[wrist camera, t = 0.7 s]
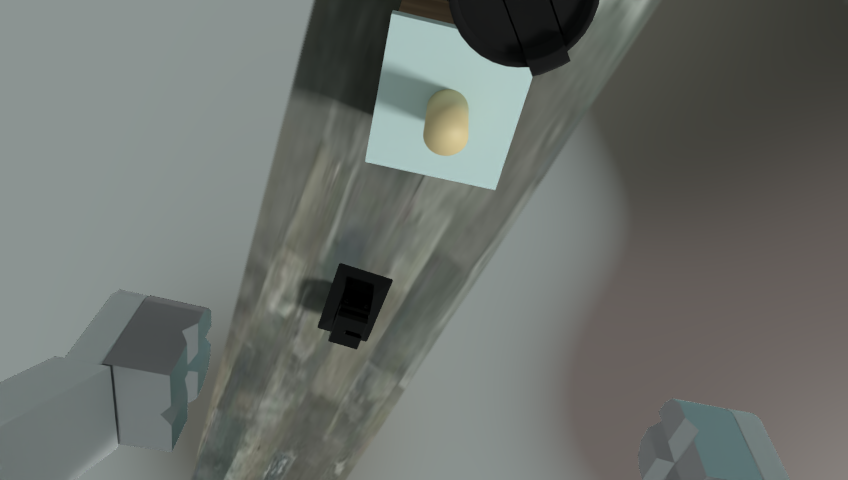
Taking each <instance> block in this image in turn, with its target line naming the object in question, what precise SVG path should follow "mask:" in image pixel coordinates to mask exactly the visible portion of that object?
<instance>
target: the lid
mask: <svg viewBox="0 0 848 480" xmlns="http://www.w3.org/2000/svg"><path fill="white" fill-rule="evenodd" d="M532 77H533V76H532V75H531V72H530V69H529V67H520V68H517V67H506V66H503V65H500V64H496V63H493V62H491V61H489V60H487V59H486V58H484V57H482V56H480V55H479V54H478V53H477V52H475V51H474V50H473V49H472V48H471V47H470V46H469V45H468V44H467V43H466V41H465V40H464V39H463V38H462V37H461V35H460V33H459V31H458V29H457V28H456V26H455V24H450V23H446V22H442V21H438V20H433V19H429V18H425V17H421V16H416V15H412V14H408V13H404V12H400V11H395V10H393V11H392V14H391V20H390V25H389V31H388V37H387V42H386V48H385V53H384V59H383V65H382V70H381V76H380V81H379V87H378V93H377V98H376V104H375V109H374V115H373V120H372V126H371V132H370V137H369V143H368V148H367V154H366V160H365V162H368V163H373V164H378V165H382V166H387V167H391V168H396V169H401V170H405V171H410V172H414V173H419V174H424V175H428V176H433V177H437V178H442V179H447V180H451V181H456V182H460V183H465V184H470V185H474V186H479V187H483V188H488V189H493V190H495V189H496V186H497V183H498V180H499V177H500V174H501V171H502V168H503V165H504V162H505V159H506V156H507V153H508V150H509V147H510V144H511V141H512V138H513V135H514V132H515V129H516V126H517V123H518V120H519V116H520V113H521V110H522V107H523V104H524V101H525V98H526V95H527V92H528V89H529V86H530V83H531V80H532Z"/></svg>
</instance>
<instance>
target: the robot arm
mask: <svg viewBox="0 0 848 480" xmlns="http://www.w3.org/2000/svg"><path fill="white" fill-rule="evenodd" d="M210 327H211V310H210V309H209V308H205V307H201V306H196V305H192V304H187V303H183V302H178V301H173V300H169V299H164V298H160V297H155V296H151V295H150V296H147V295H143V294H139V293H134V292H129V291H125V290H121V289H120V290H118V291H117V292H115V293H113V294H112V295H111V296H110V297H109V299H108V300H107V301H106V303H105V304H104V305H103V307H102V308H101V310H100V311H99V312H98V314H97V315H96V316H95V318H94V319H93V320H92V321H91V323H90V324H89V326H88V327H87V328H86V330H85V331H84V332H83V334H82V335H81V336H80V338H79V339H78V340H77V342H76V343H75V344H74V346H73V347H72V348H71V350H70V351H69V352H68V354H67V355H66V357H65V358H63V357H57V356H54V357H53V358H50V359H48V360H46V361H44V362H42V363H40V364H38V365H36V366H33V367H31V368H29V369H27V370H25V371H23V372H21V373H19V374H17V375H14V376H12V377H10V378H8V379H6V380H4V381H2V382H0V480H75V479H77V478H78V477H79V476H81V475H82V474H83V473H85V472H86V471H87V470H89V469H90V468H91V467H93V466H94V465H95V464H97V463H98V462H99V461H100V460H102V459H103V458H105V457H106V456H107V455H108V454H110V453H111V452H112V451H114V450H115V449H117V448H118V444H122V445H128V446H135V447H141V448H148V449H155V450H162V451H168V452H172V451H173V449H174V446H175V445H176V442H177V440H178V438H179V436H180V434H181V432H182V430H183V427H184V425H185V423H186V421H187V416H188V412H187V410H188V409H187V408H188V403H189V402H191V401H193V400H194V399H196V398H197V397H198V395H199V393H200V390H201V388H202V386H203V383H204V380H205V376H206V373H207V370H208V366H209V360H210V351H211V344H210V343H209V341H208V340H207V339H206V338H205V337H206V335H207V333H208V331H209V329H210ZM659 415H660V417H661V421H662V422H660V423H657V424H656V425H653V426H651V427H649V428H648V429H647V431H646V433H645V435H644V436H643V438H642V440H641V444H640V449H639V454H638V457H639V469H640V473H641V477H642V480H790V479H789V477H788V475H787V473H786V471H785V469H784V467H783V465H782V463H781V461H780V459H779V457H778V455H777V452H776V451H775V448H774V446H773V444H772V442H771V440H770V438H769V436H768V435H767V432H766V430H765V428H764V426H763V424H762V422H761V420H760V419H759V418H758V417H757V416H755V414H753V413H748V412H743V411H737V410H732V409H723V408H720V407H714V406H710V405H704V404H699V403H693V402H688V401H683V400H677V399H670V400H669V401H667V402H665V404H664V405H663V406H662V408H661V409H660V411H659Z"/></svg>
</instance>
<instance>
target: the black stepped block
mask: <svg viewBox="0 0 848 480" xmlns="http://www.w3.org/2000/svg"><path fill="white" fill-rule="evenodd" d="M392 281H393V280H392V279H389V278H386V277H383V276H380V275H376V274H373V273H370V272H367V271H364V270H361V269H358V268H354V267H351V266H348V265H345V264H342V263H340V264H339V266H338V269H337V272H336V275H335V278H334V280H333V283H332V286H331V289H330V292H329V295H328V298H327V301H326V304H325V307H324V310H323V313H322V316H321V318H320V321H319V324H318V328H320V329H324V330H327V331H330V335H329V339H328V341H330V342H333V343H337V344H340V345H344V346H347V347H350V348H354V349H357V348H358V346H359V343H360V341H361V340H362V341H367V340H368V337H369V335H370V333H371V330H372V328H373V326H374V323H375V321H376V319H377V316H378V314H379V312H380V309H381V307H382V305H383V302H384V300H385V298H386V295H387V293H388V291H389V288H390V286H391V284H392Z"/></svg>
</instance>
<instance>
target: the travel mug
mask: <svg viewBox="0 0 848 480" xmlns="http://www.w3.org/2000/svg"><path fill="white" fill-rule="evenodd" d="M598 5H599V0H449V8H450V12H451V15H452V18H453V21H454V24H455V26H456V28H457V29H458V31H459V33H460V35H461V37H462V38H463V39H464V40H465V41H466V43H467V44H468V45H469V46H470V47H471V48H472V49H473V50H474V51H475V52H477V53H478V54H479V55H480V56H482V57H484V58H486V59H487V60H489V61H491V62H493V63H496V64H500V65H503V66H506V67H517V68H520V67H529V69H530V72H531V75H532V76H536V75H540V74H543V73H546V72H548V71H551V70H553V69H556V68H558V67H560V66H562V65H564V64H566V63H568V62H570V59H569V56H568V53H567V51H568V50H569V49H571V48H572V47H573V46H574V45H575V44H576V43H577V42H578V41H579V40H580V38H581V37H582V36H583V35H584V34H585V32H586V31H587V29H588V27H589V26H590V24H591V22H592V21H593V18H594V16H595V13H596V10H597V8H598Z"/></svg>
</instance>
